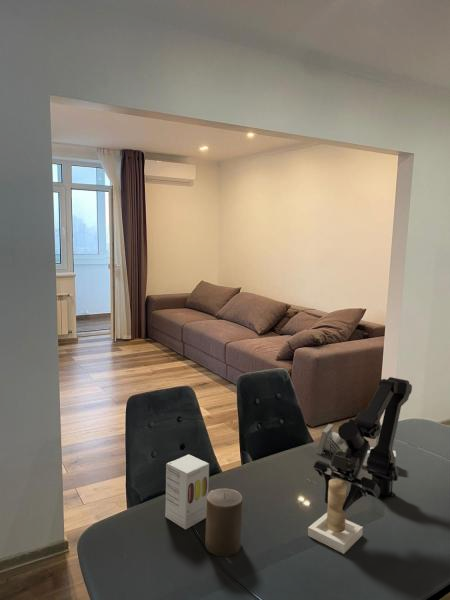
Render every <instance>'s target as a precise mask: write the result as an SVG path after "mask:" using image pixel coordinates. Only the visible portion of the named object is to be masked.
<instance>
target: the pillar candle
mask: <svg viewBox="0 0 450 600" xmlns="http://www.w3.org/2000/svg"><path fill="white" fill-rule="evenodd" d="M242 518H243V496H242V494H241V493H240V492H239V491H238V490H235V489H230V488H216V489H211V490H210V491H209V492H208V495H207V509H206V518H205V537H204V538H205V539H204V541H205V542H204V543H205V544H204V545H205V548H206V550H207V551H208V552H209V553H210V554H211V555H214V556H217V557H231V556H233V555H235V554H237V553H238V552H240V550H241V548H242V524H243V523H242V521H243V520H242Z"/></svg>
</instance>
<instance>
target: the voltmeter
mask: <svg viewBox="0 0 450 600" xmlns="http://www.w3.org/2000/svg"><path fill="white" fill-rule="evenodd" d="M333 429H334V430H336V427H334V424H331V423H328V425H327V426H326V427H325V428H324V429H323V430H322V432H321V436H320V438H319V443H318V446H317V449H316V453H317V454H318V455H320V456H321V455H322V454H324V455H325V453H326V452H324V451H325V450H326V451H328V452H329V457H328V458H329V460H331V461H330V463H331V462H332V458H333V454H334V455H338V456H339V453H338V452H339V451H340V452H341V454H342V453H343V449H341V448H340V447H341V446H343V444H344V442H343V441H342V439H341V438H340V436H339V434H338V433H337V432H335V431H333Z"/></svg>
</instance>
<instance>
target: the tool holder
mask: <svg viewBox="0 0 450 600" xmlns="http://www.w3.org/2000/svg"><path fill="white" fill-rule="evenodd" d="M363 530H364V529H363V526H361V525H360V524H358V523H355V522H352V521H350V520H348V519H345V530H344V531H343V532H333V531H331V530H329V529H328V528H327V512H326V513H324V514H323V515H321V516H320V517H319V518H318V519H317V520H316V521H314V522H313V523H312V524H311V525H310V526H308V527H307V536H308V537H309V538H312V539H314V540H316V541H317V542H319V543H322V544H324V545H326V546H327V547H329V548H332V549H333V550H335V551H337V552H339V553H342V554H343V555H345V553H346V552H347V551H348V550H349V549H350V548H352V547H353V545H354V544H355V543H356V542H357V541H358V540H359V539H360V538H361V537H363Z"/></svg>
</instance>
